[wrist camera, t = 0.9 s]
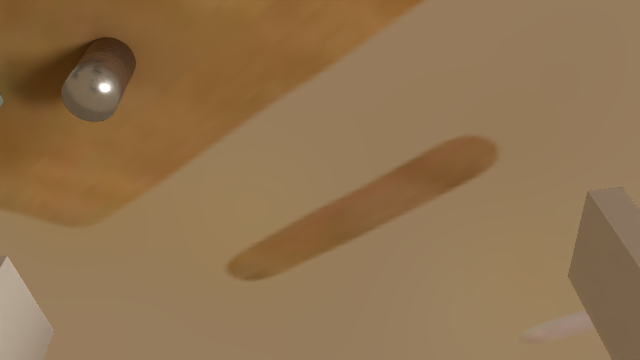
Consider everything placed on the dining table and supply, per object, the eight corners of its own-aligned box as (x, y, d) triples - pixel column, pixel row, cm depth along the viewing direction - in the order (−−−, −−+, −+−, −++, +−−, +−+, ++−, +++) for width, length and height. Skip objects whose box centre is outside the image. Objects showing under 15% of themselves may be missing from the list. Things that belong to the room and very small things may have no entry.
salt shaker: (79, 39, 35) (53, 76, 31) (128, 35, 35) (108, 72, 31) (94, 83, 37) (71, 123, 33) (141, 79, 37) (123, 119, 33)
